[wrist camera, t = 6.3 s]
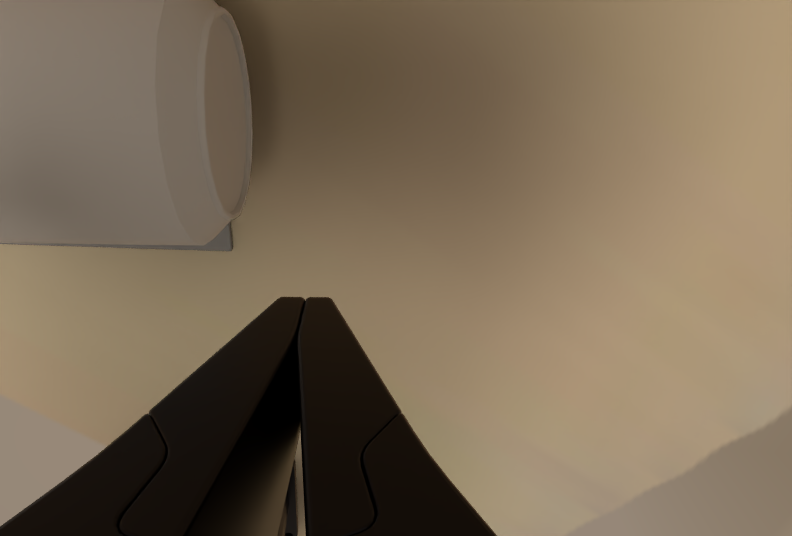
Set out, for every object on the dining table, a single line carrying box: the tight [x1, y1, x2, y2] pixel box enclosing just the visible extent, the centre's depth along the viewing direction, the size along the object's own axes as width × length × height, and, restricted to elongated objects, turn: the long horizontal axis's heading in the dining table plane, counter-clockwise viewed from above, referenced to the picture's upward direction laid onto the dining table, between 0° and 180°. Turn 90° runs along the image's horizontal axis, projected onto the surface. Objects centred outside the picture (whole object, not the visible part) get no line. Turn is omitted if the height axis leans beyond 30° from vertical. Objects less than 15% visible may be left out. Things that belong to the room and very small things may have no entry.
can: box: [0, 0, 253, 246], centre depth 16 cm, size 8×8×12 cm
